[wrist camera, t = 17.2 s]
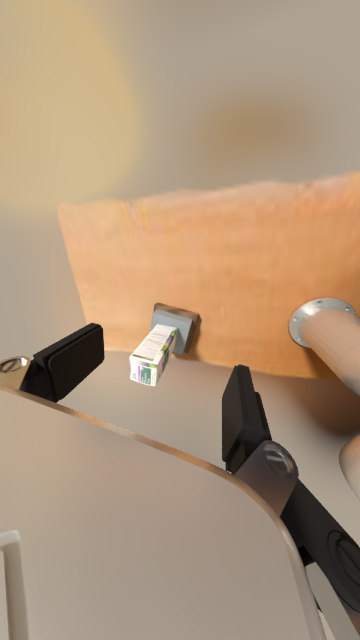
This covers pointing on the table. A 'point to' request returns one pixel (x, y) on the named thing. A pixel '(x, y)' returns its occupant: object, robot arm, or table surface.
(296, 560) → the robot arm
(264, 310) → the table surface
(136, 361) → the syrup box
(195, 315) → the tower base
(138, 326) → the table surface
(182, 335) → the tower top
